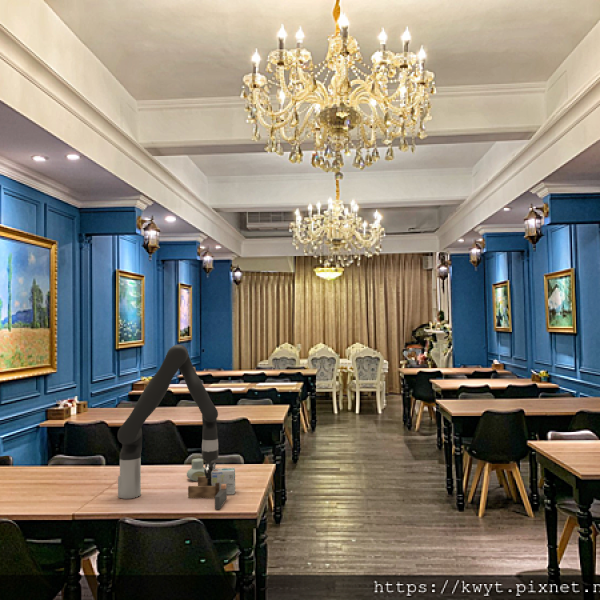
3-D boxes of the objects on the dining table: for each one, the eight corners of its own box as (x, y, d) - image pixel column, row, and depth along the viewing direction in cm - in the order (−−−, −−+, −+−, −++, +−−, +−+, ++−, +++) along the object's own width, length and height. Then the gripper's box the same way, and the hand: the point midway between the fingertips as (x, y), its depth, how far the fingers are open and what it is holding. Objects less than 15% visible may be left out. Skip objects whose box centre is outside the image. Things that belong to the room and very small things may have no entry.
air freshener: (207, 476, 280) (207, 457, 281) (209, 480, 273) (209, 460, 273) (185, 478, 277) (185, 459, 278) (187, 482, 269) (187, 462, 270)
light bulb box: (235, 490, 254) (235, 467, 255) (234, 494, 248) (234, 470, 248) (212, 491, 254) (212, 467, 254) (211, 495, 247) (210, 471, 248)
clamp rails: (188, 498, 244) (188, 483, 244) (198, 486, 262) (198, 473, 262) (218, 498, 243) (218, 483, 243) (227, 486, 261) (227, 473, 261)
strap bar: (214, 509, 227) (214, 493, 227) (222, 498, 241) (222, 484, 241) (219, 509, 226) (219, 493, 227) (226, 498, 240) (226, 484, 241)
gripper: (205, 445, 260) (205, 482, 259) (198, 451, 247) (198, 490, 246) (221, 446, 260) (221, 482, 259) (214, 451, 247) (214, 490, 245)
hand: (210, 486), depth 252 cm, fingers closed
